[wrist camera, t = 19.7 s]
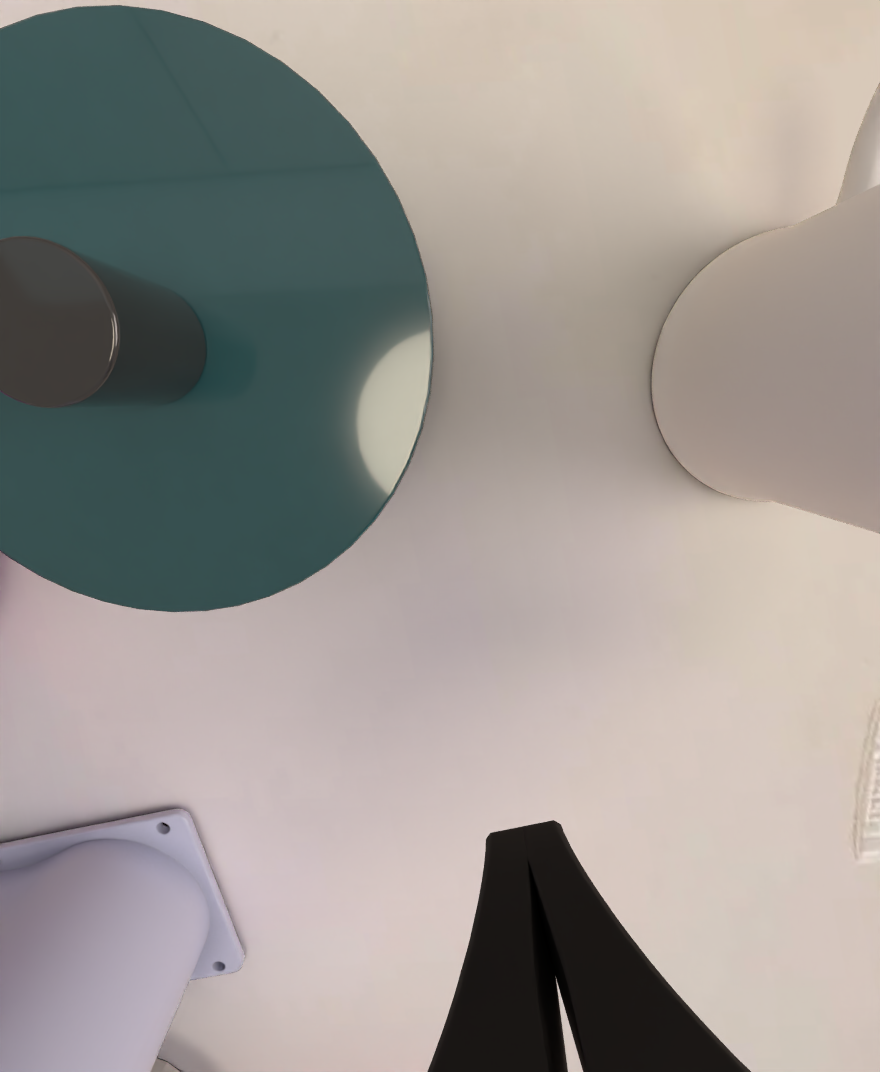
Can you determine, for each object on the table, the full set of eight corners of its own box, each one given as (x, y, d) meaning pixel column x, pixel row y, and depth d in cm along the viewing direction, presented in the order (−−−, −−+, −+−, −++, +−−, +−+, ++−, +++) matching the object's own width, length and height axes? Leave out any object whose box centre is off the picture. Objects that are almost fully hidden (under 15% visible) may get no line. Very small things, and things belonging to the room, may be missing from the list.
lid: (199, 684, 16) (98, 806, 11) (-202, 337, 13) (-541, 304, 9) (541, 362, 14) (595, 343, 9) (137, -111, 11) (-70, -462, 7)
